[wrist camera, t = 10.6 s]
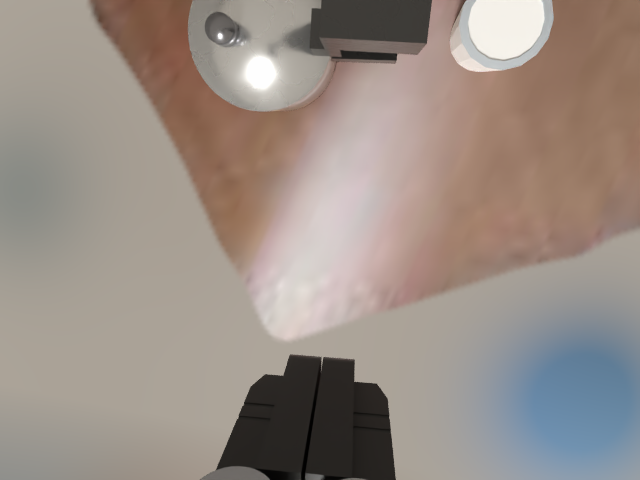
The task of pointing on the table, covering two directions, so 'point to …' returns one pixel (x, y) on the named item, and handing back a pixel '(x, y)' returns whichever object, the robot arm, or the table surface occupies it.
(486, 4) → the white cylinder
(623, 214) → the table surface
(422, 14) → the lid
